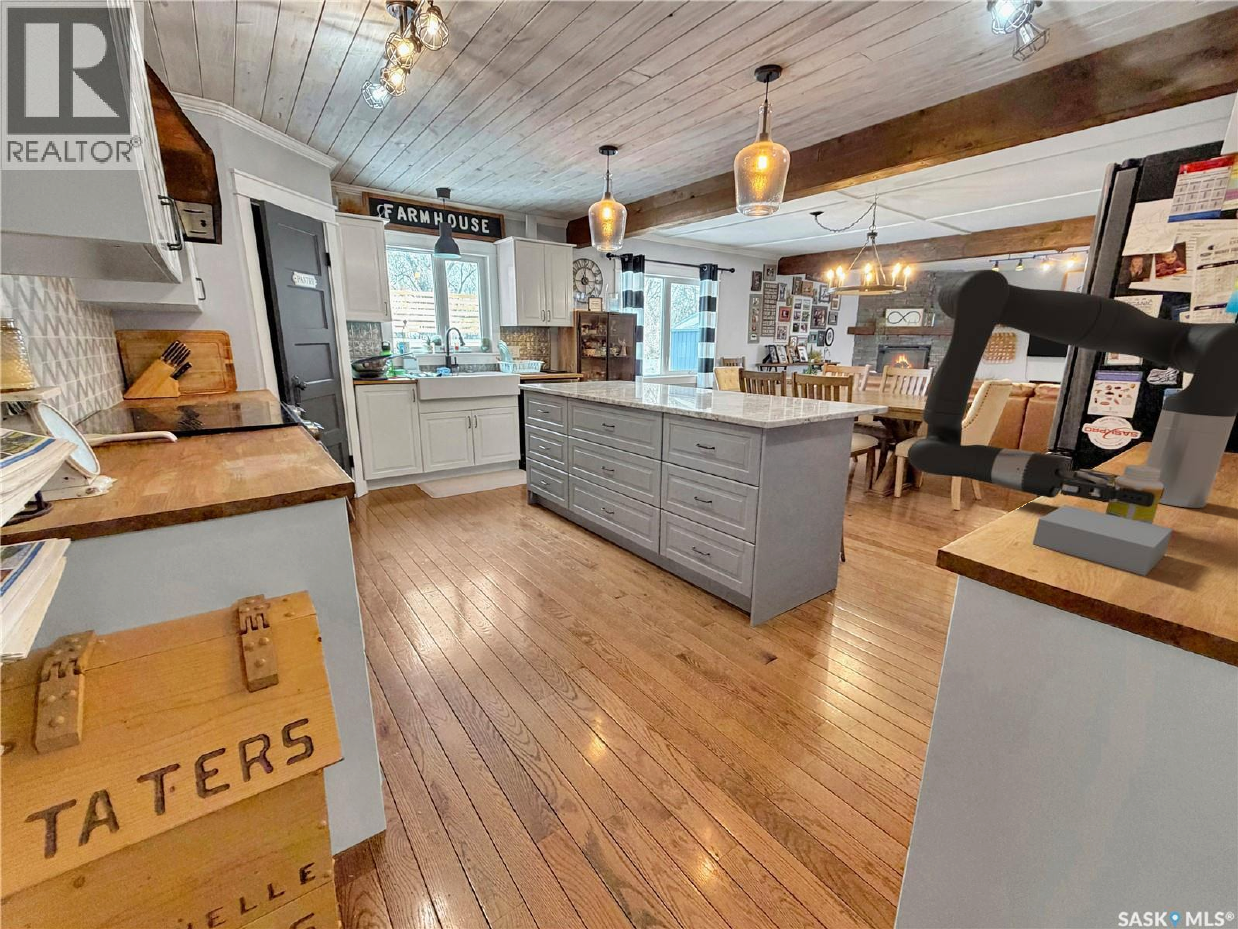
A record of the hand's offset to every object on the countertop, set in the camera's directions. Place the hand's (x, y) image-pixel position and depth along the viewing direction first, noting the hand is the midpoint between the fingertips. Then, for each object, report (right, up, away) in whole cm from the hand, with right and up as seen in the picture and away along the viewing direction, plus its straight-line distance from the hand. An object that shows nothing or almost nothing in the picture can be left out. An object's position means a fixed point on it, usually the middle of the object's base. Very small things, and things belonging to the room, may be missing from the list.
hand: (1157, 497), depth 79 cm
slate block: (-15, -7, -5) cm, 17 cm away
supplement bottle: (-2, -5, +4) cm, 7 cm away
